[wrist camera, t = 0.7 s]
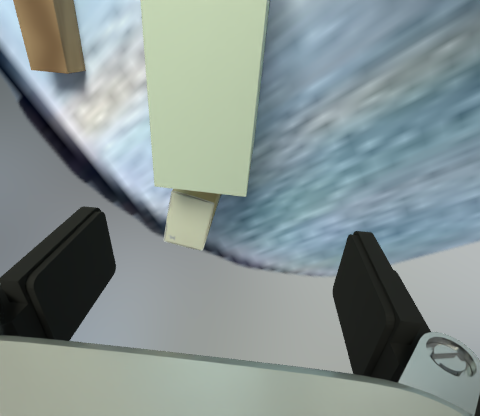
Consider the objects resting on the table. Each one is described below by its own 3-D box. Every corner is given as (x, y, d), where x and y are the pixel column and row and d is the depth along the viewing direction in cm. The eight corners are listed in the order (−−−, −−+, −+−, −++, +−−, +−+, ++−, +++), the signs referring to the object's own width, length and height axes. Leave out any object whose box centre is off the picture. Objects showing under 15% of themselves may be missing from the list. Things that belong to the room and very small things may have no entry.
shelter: (201, -93, 26) (121, -253, 12) (279, -87, 25) (292, -241, 12) (199, 129, 36) (154, 186, 22) (254, 136, 36) (245, 196, 22)
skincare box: (219, 199, 41) (202, 254, 30) (190, 191, 40) (162, 244, 30) (230, 157, 37) (215, 203, 27) (198, 148, 37) (170, 191, 27)
